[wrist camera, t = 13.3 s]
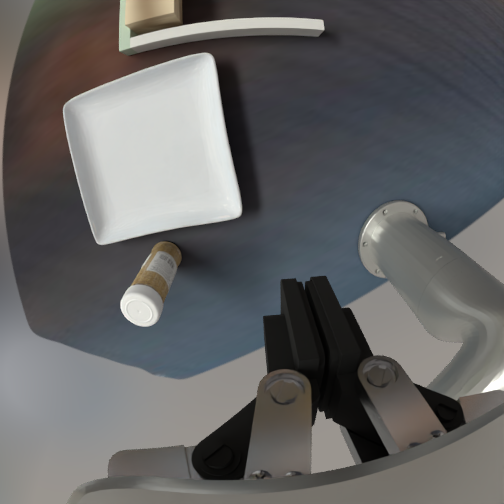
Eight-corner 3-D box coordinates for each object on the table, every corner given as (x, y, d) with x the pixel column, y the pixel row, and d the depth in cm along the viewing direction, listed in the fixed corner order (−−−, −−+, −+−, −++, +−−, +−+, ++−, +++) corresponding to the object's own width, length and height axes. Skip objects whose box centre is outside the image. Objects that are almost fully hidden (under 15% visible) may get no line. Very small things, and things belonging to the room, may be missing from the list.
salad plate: (215, 55, 28) (212, 48, 25) (244, 210, 37) (244, 218, 34) (72, 104, 29) (59, 104, 26) (107, 238, 38) (97, 247, 35)
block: (182, -9, 23) (173, -24, 18) (182, 25, 25) (174, 12, 21) (139, 2, 23) (126, -11, 18) (138, 35, 26) (124, 25, 21)
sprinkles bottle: (146, 248, 39) (111, 302, 27) (171, 234, 38) (141, 287, 26) (163, 273, 41) (137, 333, 28) (188, 260, 40) (167, 320, 28)
